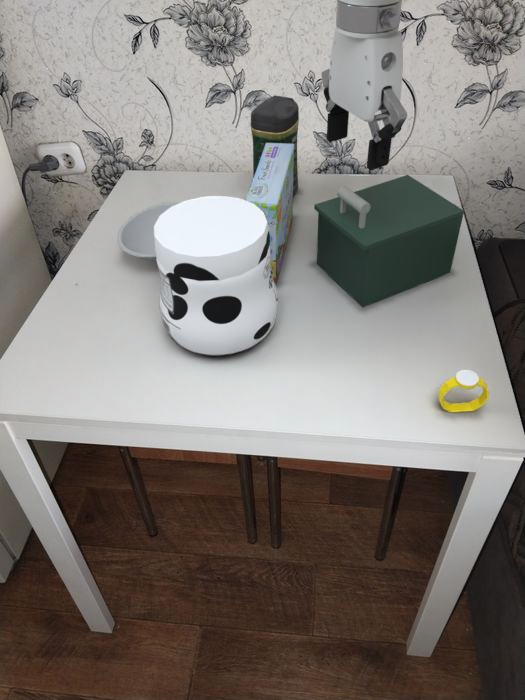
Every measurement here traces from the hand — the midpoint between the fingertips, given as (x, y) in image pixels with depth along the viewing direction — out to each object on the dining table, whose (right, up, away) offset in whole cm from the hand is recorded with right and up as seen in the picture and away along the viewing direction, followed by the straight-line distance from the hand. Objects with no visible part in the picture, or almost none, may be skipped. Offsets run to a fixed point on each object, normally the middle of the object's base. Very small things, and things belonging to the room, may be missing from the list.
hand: (356, 152), depth 82 cm
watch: (+13, -35, -5) cm, 38 cm away
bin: (+7, -14, +18) cm, 23 cm away
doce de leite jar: (-19, -24, +9) cm, 32 cm away
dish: (-30, -10, +24) cm, 40 cm away
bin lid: (+6, -6, +10) cm, 13 cm away
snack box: (-11, -10, +23) cm, 27 cm away
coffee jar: (-10, +3, +37) cm, 38 cm away
